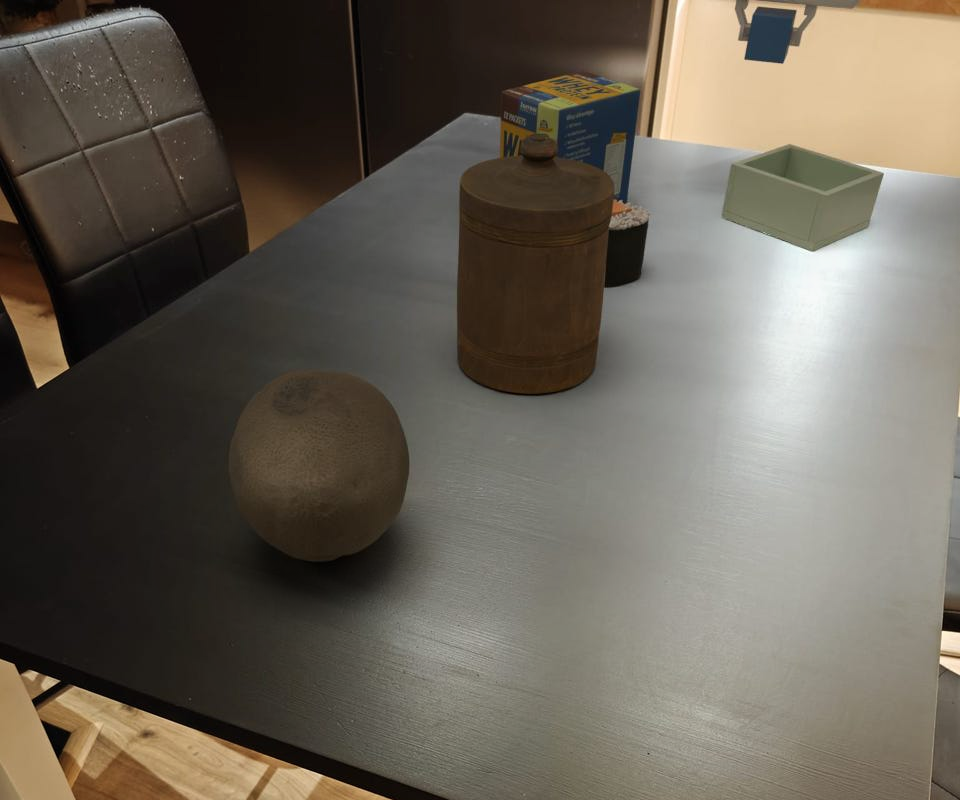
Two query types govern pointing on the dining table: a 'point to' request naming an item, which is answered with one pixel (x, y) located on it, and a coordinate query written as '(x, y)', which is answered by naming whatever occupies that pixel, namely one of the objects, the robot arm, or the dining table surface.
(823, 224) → the green storage bin
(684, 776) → the dining table surface
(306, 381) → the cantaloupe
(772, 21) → the block
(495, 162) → the wooden container
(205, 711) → the dining table surface
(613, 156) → the protein box
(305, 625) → the dining table surface
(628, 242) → the sushi
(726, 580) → the dining table surface
